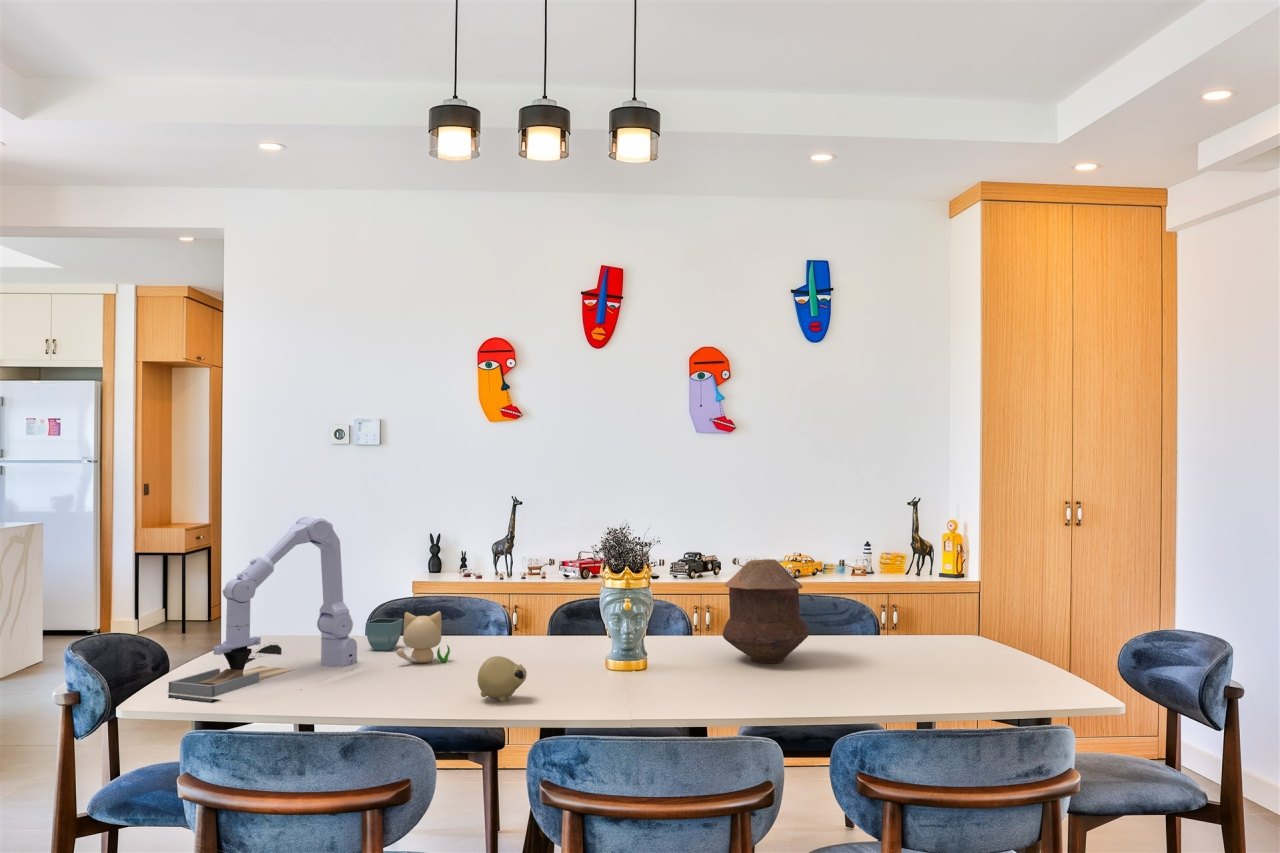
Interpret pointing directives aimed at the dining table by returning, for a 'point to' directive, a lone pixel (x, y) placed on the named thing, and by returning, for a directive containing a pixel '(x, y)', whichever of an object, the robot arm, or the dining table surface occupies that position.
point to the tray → (208, 686)
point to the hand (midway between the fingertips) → (237, 677)
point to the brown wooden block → (230, 674)
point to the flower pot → (383, 633)
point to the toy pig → (500, 677)
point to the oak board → (266, 671)
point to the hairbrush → (267, 651)
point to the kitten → (422, 637)
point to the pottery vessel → (764, 612)
